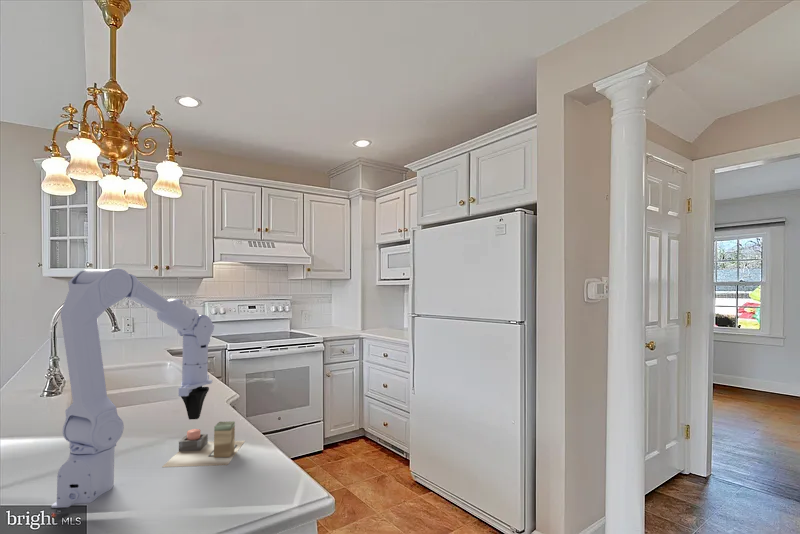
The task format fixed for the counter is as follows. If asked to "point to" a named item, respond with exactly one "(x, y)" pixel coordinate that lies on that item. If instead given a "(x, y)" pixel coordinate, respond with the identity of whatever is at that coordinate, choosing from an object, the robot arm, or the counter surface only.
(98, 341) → the robot arm
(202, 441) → the brown framed board
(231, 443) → the green topped wooden block
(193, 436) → the button
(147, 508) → the counter surface
